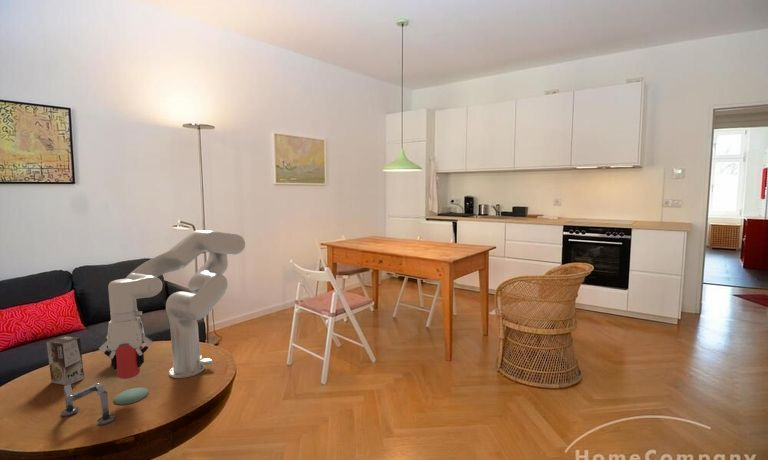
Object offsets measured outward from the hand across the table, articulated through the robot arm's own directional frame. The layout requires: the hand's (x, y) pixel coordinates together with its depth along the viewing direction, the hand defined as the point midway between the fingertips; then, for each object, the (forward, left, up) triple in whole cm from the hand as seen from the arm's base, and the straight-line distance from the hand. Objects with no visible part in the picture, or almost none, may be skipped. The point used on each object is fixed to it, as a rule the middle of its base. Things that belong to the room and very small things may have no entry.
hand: (128, 366), depth 136 cm
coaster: (0, 0, -11) cm, 11 cm away
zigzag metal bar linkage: (+9, +9, -11) cm, 17 cm away
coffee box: (+27, -21, -11) cm, 36 cm away
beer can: (0, 0, -3) cm, 3 cm away
